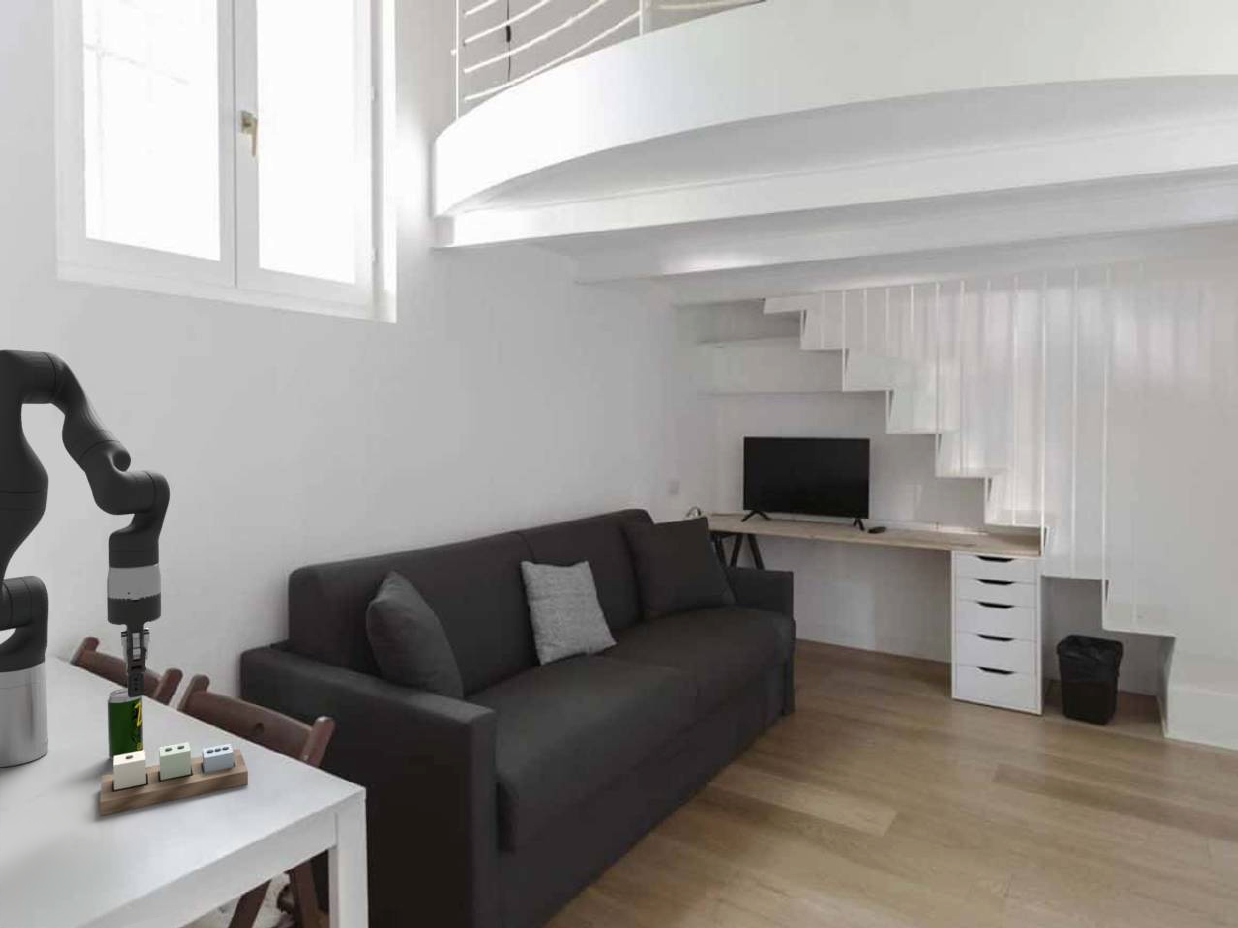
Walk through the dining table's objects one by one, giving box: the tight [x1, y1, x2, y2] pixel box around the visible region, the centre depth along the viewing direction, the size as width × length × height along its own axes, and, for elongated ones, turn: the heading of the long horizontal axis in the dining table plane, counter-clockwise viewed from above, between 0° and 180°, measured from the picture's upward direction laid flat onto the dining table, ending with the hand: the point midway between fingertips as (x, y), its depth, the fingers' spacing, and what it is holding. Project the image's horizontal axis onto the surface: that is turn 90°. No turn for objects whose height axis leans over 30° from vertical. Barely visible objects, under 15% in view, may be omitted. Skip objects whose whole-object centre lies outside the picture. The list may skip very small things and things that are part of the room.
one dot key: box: [112, 749, 147, 790], centre depth 128 cm, size 4×4×4 cm
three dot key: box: [202, 743, 234, 773], centre depth 135 cm, size 4×4×4 cm
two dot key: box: [158, 741, 192, 780], centre depth 132 cm, size 4×4×4 cm
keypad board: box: [99, 748, 249, 817], centre depth 132 cm, size 21×11×2 cm, turn 123°
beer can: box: [107, 687, 144, 762], centre depth 144 cm, size 5×5×12 cm
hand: (135, 695), depth 129 cm, fingers closed
